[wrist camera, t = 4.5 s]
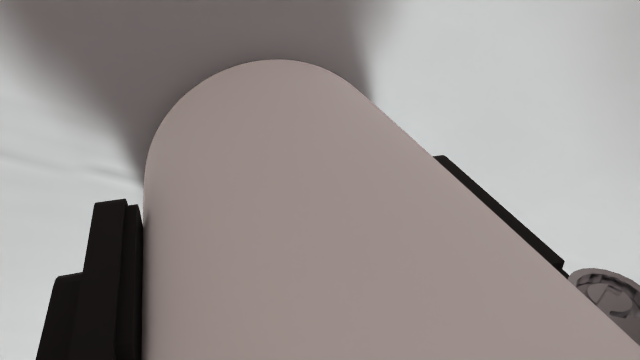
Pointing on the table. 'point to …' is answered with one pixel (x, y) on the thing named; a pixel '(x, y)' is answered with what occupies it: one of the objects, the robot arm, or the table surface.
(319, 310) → the can
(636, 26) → the table surface
